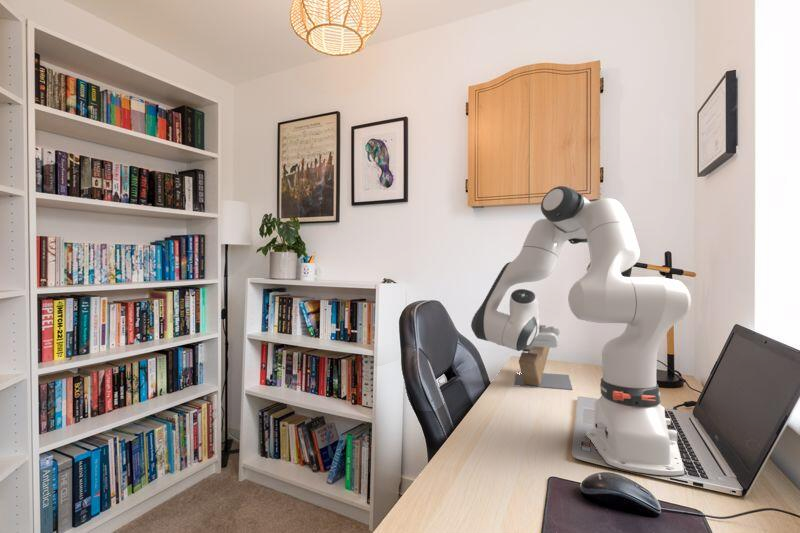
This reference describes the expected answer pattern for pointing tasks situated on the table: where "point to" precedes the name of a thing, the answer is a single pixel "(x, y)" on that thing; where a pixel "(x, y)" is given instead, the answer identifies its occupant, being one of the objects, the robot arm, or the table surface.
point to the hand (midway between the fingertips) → (526, 350)
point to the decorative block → (533, 364)
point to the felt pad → (548, 381)
